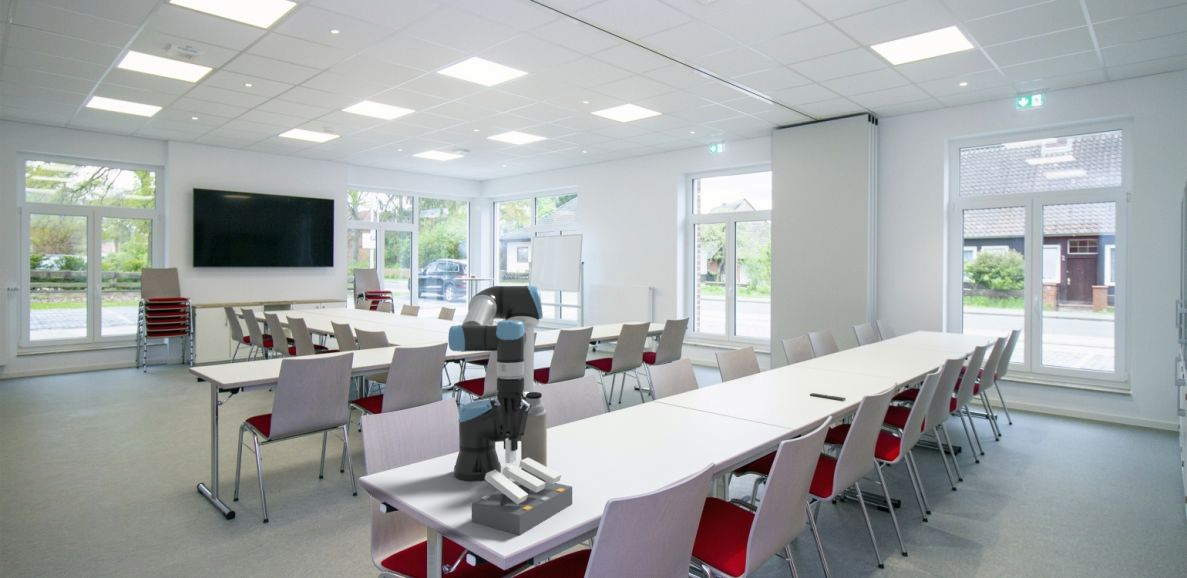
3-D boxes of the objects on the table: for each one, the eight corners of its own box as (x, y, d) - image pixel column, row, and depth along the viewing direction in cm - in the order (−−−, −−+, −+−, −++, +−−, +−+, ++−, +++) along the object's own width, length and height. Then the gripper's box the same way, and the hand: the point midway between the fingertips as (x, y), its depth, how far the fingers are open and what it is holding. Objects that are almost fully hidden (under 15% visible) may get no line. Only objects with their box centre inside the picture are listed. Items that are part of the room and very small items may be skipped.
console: (471, 521, 160) (471, 491, 160) (527, 493, 180) (527, 466, 180) (519, 535, 152) (519, 503, 151) (572, 504, 172) (572, 476, 172)
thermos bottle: (522, 473, 195) (521, 389, 192) (547, 473, 196) (547, 389, 192) (520, 485, 187) (519, 397, 184) (546, 485, 188) (546, 397, 184)
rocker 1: (484, 478, 161) (486, 473, 160) (493, 475, 164) (495, 469, 163) (517, 504, 155) (519, 498, 155) (526, 499, 158) (528, 494, 158)
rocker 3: (519, 466, 174) (520, 460, 173) (526, 463, 177) (528, 457, 177) (552, 484, 168) (553, 478, 168) (559, 480, 171) (561, 474, 171)
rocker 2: (502, 473, 167) (503, 467, 167) (510, 470, 170) (511, 464, 170) (536, 492, 161) (537, 486, 161) (544, 488, 164) (545, 482, 164)
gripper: (483, 376, 167) (483, 461, 168) (520, 380, 161) (520, 469, 161) (500, 373, 174) (501, 454, 174) (537, 376, 167) (537, 461, 168)
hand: (510, 461), depth 168 cm, fingers closed
